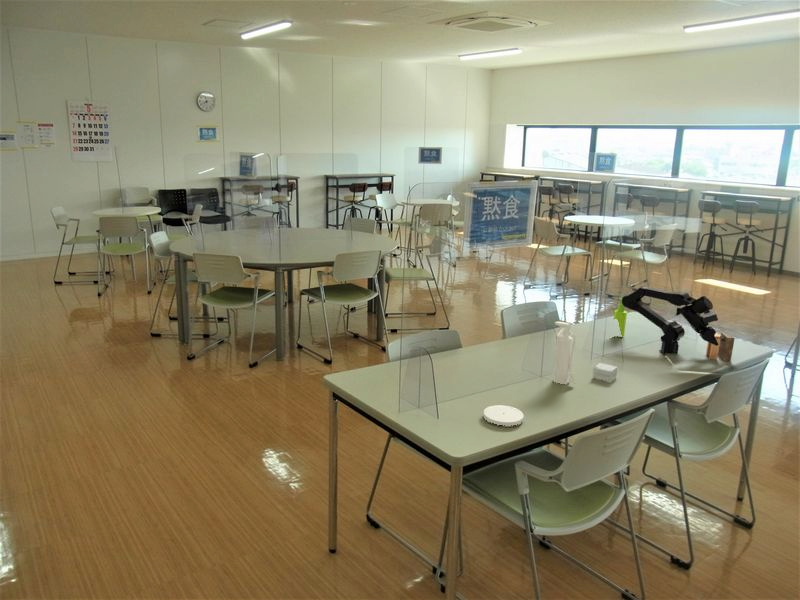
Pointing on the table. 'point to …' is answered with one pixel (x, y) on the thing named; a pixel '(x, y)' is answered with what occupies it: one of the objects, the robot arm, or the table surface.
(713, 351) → the C-link
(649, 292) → the robot arm
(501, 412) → the plastic lid
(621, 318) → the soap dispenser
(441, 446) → the table surface
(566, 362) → the spray bottle
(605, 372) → the small box
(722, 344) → the walnut stand
